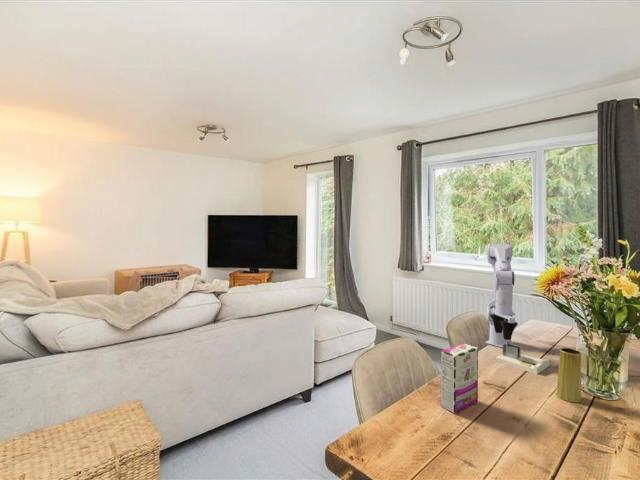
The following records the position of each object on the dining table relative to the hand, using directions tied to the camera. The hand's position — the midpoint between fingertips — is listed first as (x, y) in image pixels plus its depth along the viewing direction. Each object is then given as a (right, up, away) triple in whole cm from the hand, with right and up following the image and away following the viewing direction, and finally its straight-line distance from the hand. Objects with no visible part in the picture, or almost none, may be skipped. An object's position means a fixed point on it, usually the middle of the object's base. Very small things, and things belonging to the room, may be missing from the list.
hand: (502, 336), depth 132 cm
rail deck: (+4, -9, -5) cm, 11 cm away
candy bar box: (-31, -10, -34) cm, 48 cm away
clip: (+2, -7, -2) cm, 8 cm away
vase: (+4, -10, -30) cm, 32 cm away
